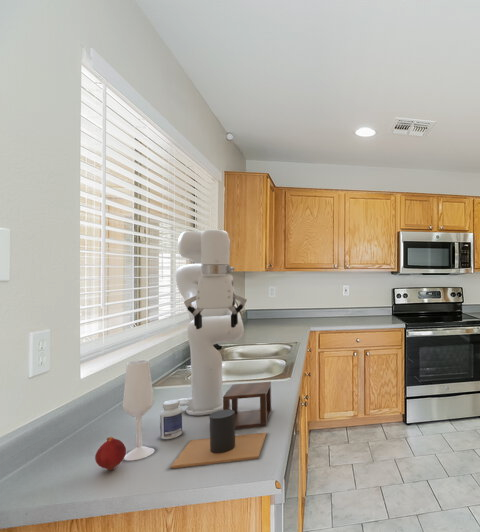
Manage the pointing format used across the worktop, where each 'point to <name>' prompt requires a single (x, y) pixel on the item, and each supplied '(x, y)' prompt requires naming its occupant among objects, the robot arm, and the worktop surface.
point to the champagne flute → (138, 402)
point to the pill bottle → (171, 420)
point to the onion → (110, 453)
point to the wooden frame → (253, 416)
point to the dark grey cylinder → (222, 431)
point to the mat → (201, 454)
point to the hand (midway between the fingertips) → (216, 327)
